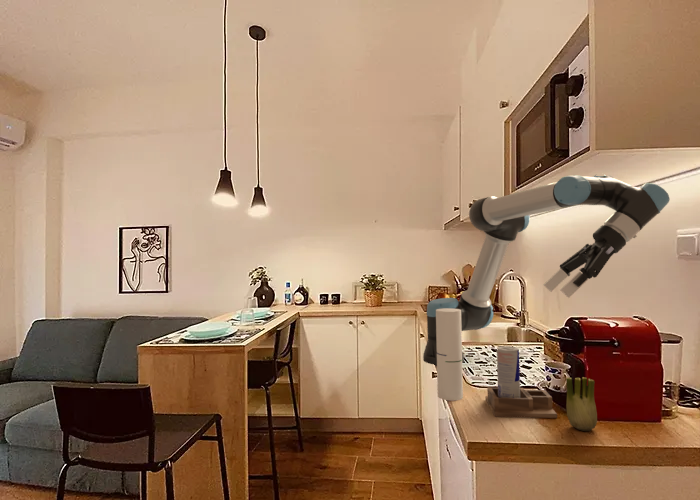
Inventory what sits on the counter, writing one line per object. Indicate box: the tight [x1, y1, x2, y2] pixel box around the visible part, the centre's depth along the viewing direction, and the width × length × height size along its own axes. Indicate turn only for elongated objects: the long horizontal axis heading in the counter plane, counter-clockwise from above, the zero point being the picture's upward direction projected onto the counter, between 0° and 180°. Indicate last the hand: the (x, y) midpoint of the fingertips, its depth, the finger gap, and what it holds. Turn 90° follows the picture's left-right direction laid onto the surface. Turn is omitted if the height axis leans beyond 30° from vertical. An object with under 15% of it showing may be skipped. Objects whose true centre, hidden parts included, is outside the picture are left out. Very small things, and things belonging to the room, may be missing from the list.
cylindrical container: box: [436, 308, 464, 401], centre depth 131 cm, size 7×7×25 cm
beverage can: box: [496, 345, 521, 398], centre depth 121 cm, size 6×6×15 cm
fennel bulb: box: [565, 376, 598, 432], centre depth 106 cm, size 6×5×12 cm
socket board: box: [485, 386, 558, 419], centre depth 120 cm, size 13×15×4 cm
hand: (555, 291), depth 121 cm, fingers open, 13 cm apart
